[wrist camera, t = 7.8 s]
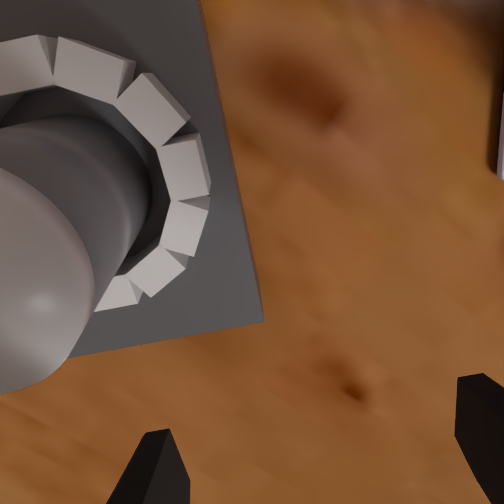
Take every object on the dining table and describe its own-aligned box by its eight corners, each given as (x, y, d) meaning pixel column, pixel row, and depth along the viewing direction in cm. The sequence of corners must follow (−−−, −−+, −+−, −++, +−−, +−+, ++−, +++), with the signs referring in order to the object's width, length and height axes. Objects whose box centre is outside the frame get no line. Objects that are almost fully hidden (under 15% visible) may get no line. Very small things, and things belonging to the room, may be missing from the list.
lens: (130, 103, 12) (21, 138, 6) (166, 241, 14) (113, 378, 8) (-18, 126, 12) (-286, 186, 6) (38, 260, 14) (-115, 410, 8)
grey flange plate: (184, -75, 13) (162, -145, 9) (259, 285, 19) (267, 344, 15) (-103, -11, 13) (-255, -49, 9) (60, 322, 19) (13, 391, 15)
